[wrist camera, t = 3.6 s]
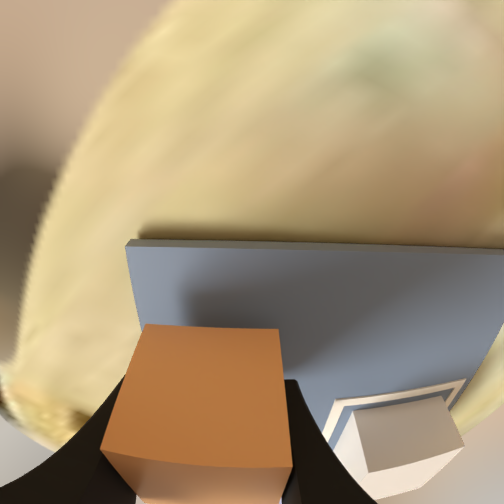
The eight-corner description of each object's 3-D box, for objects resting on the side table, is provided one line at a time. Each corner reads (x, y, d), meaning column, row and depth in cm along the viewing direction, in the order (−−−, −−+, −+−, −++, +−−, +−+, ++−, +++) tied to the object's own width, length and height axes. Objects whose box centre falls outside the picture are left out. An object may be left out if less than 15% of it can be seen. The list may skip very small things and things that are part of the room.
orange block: (269, 406, 12) (275, 512, 8) (165, 401, 12) (144, 502, 8) (278, 328, 10) (292, 466, 6) (145, 323, 10) (99, 448, 6)
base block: (406, 444, 17) (420, 487, 14) (329, 457, 17) (337, 506, 14) (441, 395, 15) (464, 446, 11) (352, 410, 15) (368, 473, 11)
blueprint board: (413, 448, 19) (415, 454, 18) (186, 463, 19) (185, 471, 18) (524, 250, 11) (532, 256, 10) (130, 239, 11) (124, 247, 10)
